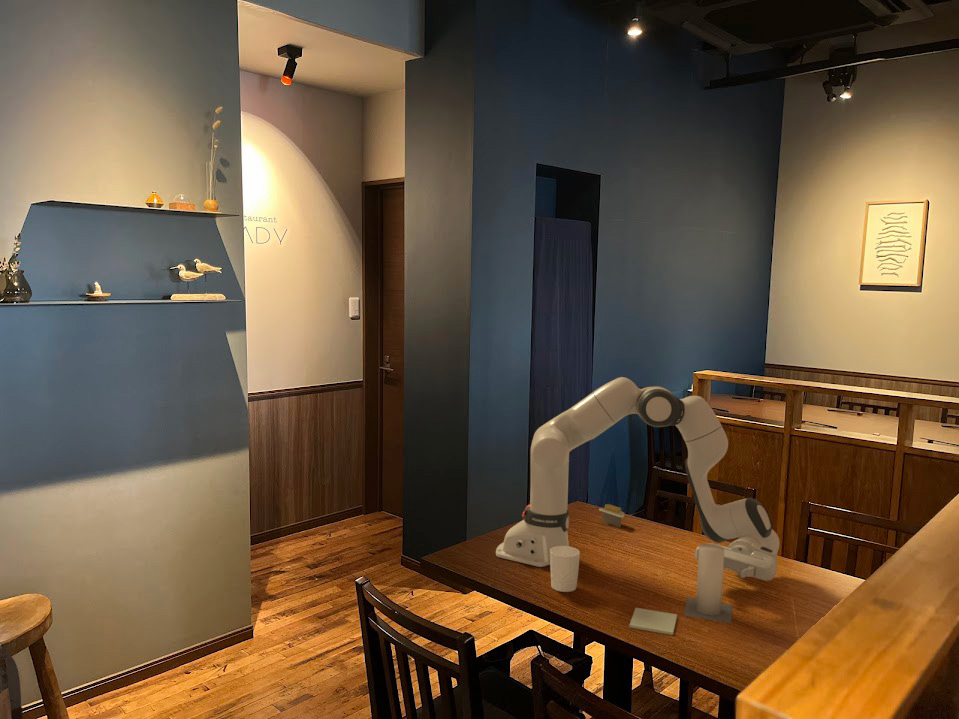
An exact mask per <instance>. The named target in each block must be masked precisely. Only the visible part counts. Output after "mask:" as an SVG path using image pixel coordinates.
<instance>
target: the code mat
mask: <svg viewBox="0 0 959 719" xmlns="http://www.w3.org/2000/svg"><path fill="white" fill-rule="evenodd" d="M732 612H733V604H728V603H723V602H722V604H721V613H720V614H719V615H705V614H702V613H700V612H698V611H697V610H696V598H693V597H692V598H691V597H687V598H686V603H685V609H684V612H683V616H684V617H689V618H690V617H691V618H696V619H701V620H708V621H715V622H719V623H726V624H732V615H733V613H732Z"/></svg>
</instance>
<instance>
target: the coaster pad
mask: <svg viewBox="0 0 959 719" xmlns="http://www.w3.org/2000/svg"><path fill="white" fill-rule="evenodd" d="M677 618H678V614H677V613H671V612H665V611H658V610H652V609H648V608H642V607H641V608H639V607H635V608H634V611H633V613H632V617H631V619H630V621H629V622H630V623H629V625H628V627H629V628H631V629H636V630H643V631H645V632H646V631H648V632H652V633H653V632H654V633H659V634H664V635H671V636H673V635H674V631H675V626H676V623H677Z"/></svg>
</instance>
